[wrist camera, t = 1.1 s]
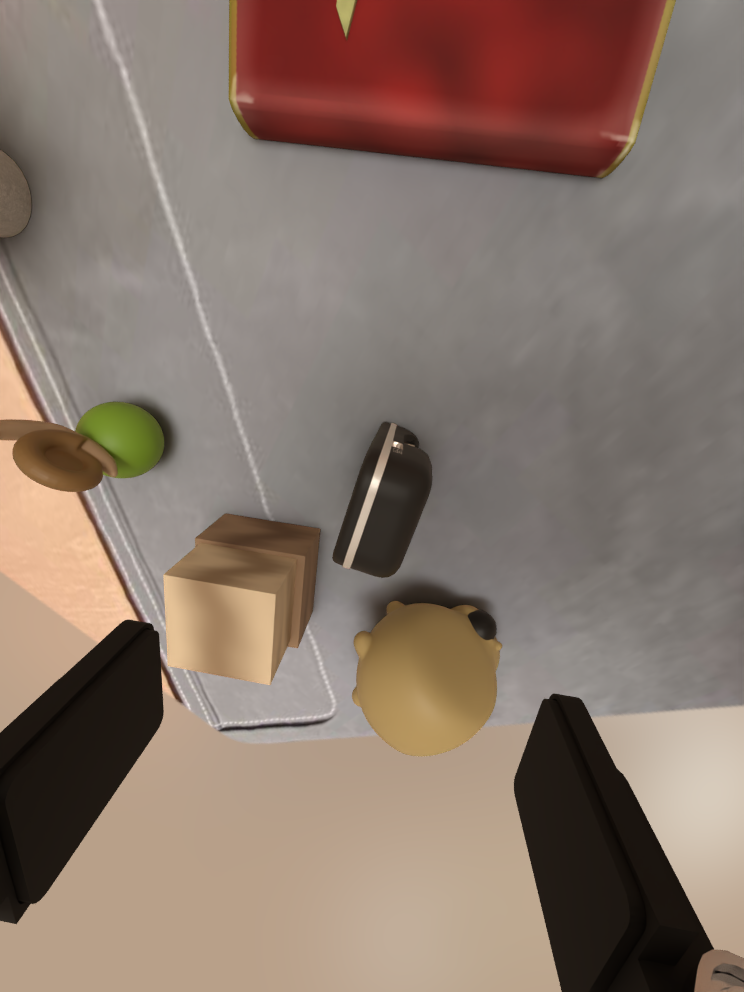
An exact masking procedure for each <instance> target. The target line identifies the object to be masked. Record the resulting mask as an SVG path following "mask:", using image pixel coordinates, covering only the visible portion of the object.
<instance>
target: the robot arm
mask: <svg viewBox="0 0 744 992" xmlns="http://www.w3.org/2000/svg"><path fill="white" fill-rule="evenodd" d="M162 719H163V694H162V677H161V660H160V642H159V633H158V632H157V631H154V627H153V625H152V624H150V623H145V622H139V621H133V620H125V621H123V622H122V623H121V624H119V625H118V626H117V627H116V628H115V629H114V630H113V631H112V632H111V633H110V634H109V635H107V636H106V637H105V638H104V639H103V640H102V641H101V642H100V643H99V644H98V645H97V646H95V647H94V648H93V649H92V650H91V651H90V652H89V653H88V654H87V655H86V656H85V657H83V658H82V659H81V660H80V661H79V662H78V663H77V664H76V665H75V666H74V667H72V668H71V669H70V670H69V671H68V672H67V673H66V674H65V675H64V676H63V677H61V678H60V679H59V680H58V681H57V682H55V683H54V684H53V685H52V686H51V687H50V688H49V689H48V690H47V691H45V692H44V693H43V694H42V695H41V696H40V697H39V698H38V699H37V700H36V701H35V702H33V703H32V704H31V705H30V706H29V707H28V708H27V709H26V710H25V711H24V712H22V713H21V714H20V715H19V716H18V717H17V718H16V719H15V720H14V721H13V722H11V723H10V724H9V725H8V726H7V727H6V728H5V729H4V730H3V731H2V732H1V733H0V921H4V922H9V923H14V924H17V922H18V921H19V920H20V918H21V917H22V915H23V914H24V912H25V911H26V910H27V908H28V907H29V905H30V904H34V903H37V902H38V901H40V900H41V899H42V897H43V896H44V895H45V894H46V893H47V891H48V890H49V889H50V887H51V886H52V884H53V882H54V881H55V880H56V878H57V877H58V875H59V874H60V872H61V871H62V869H63V868H64V867H65V865H66V864H67V862H68V861H69V859H70V858H71V856H72V855H73V853H74V852H75V850H76V849H77V848H78V846H79V845H80V843H81V842H82V840H83V838H84V837H85V835H86V834H87V833H88V831H89V830H90V828H91V827H92V825H93V824H94V822H95V821H96V820H97V818H98V816H99V815H100V814H101V812H102V811H103V809H104V808H105V806H106V805H107V803H108V801H110V799H111V798H112V796H113V795H114V793H115V792H116V790H117V788H118V787H119V785H120V784H121V783H122V781H123V780H124V778H125V777H126V775H127V774H128V773H129V771H130V770H131V768H132V767H133V765H134V764H135V762H136V761H137V759H138V758H139V756H140V755H141V754H142V752H143V751H144V749H145V747H146V746H147V745H148V743H149V742H150V740H151V739H152V737H153V736H154V734H155V733H156V731H157V730H158V728H159V726H160V724H161V721H162ZM514 793H515V798H516V802H517V806H518V811H519V815H520V819H521V823H522V827H523V832H524V836H525V840H526V844H527V848H528V852H529V857H530V861H531V865H532V869H533V873H534V878H535V882H536V886H537V890H538V894H539V898H540V903H541V907H542V911H543V915H544V919H545V923H546V928H547V932H548V936H549V940H550V944H551V949H552V953H553V957H554V961H555V965H556V969H557V974H558V977H559V982H560V986H561V990H562V992H744V958H742V957H740V956H737V955H735V954H733V953H730V952H728V951H725V950H724V951H723V950H714V948H713V946H712V945H711V943H710V940H709V938H708V937H707V935H706V933H705V931H704V929H703V927H702V925H701V923H700V921H699V919H698V917H697V915H696V913H695V911H694V910H693V908H692V906H691V904H690V902H689V900H688V898H687V896H686V894H685V892H684V890H683V888H682V886H681V884H680V882H679V880H678V878H677V876H676V874H675V872H674V871H673V869H672V867H671V865H670V863H669V861H668V859H667V857H666V855H665V853H664V851H663V849H662V847H661V845H660V843H659V841H658V839H657V838H656V835H655V833H654V832H653V830H652V828H651V826H650V824H649V822H648V820H647V818H646V816H645V814H644V812H643V810H642V808H641V806H640V804H639V802H638V800H637V798H636V797H635V795H634V793H633V791H632V789H631V787H630V785H629V783H628V781H627V780H626V778H625V777H624V775H623V774H622V773H621V772H620V771H619V770H618V769H617V768H616V766H615V764H614V763H613V760H612V758H611V756H610V754H609V752H608V750H607V749H606V747H605V745H604V743H603V741H602V739H601V737H600V735H599V733H598V731H597V729H596V727H595V725H594V723H593V721H592V719H591V717H590V715H589V713H588V711H587V709H586V707H585V705H584V703H583V702H582V700H581V699H580V698H577V697H571V696H565V695H560V694H552V695H551V696H550V698H549V699H544V700H543V701H542V703H541V706H540V709H539V711H538V714H537V717H536V720H535V723H534V725H533V728H532V731H531V734H530V736H529V739H528V742H527V745H526V748H525V750H524V753H523V756H522V759H521V762H520V764H519V767H518V770H517V773H516V775H515V779H514Z"/></svg>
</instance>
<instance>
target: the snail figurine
mask: <svg viewBox="0 0 744 992" xmlns="http://www.w3.org/2000/svg"><path fill="white" fill-rule="evenodd" d="M0 440H18V441H17V442H16V443H15V444H14V447H13V459H14V461H15V463H16V465H17V466H18V468H19V469H20V470H21V471H22V472H23V473H24V474H25V475H26V476H28V477H29V478H30V479H32V480H34V481H35V482H37V483H39V484H42V485H44V486H46V487H49V488H52V489H56V490H60V491H67V492H80V491H86V490H89V489H92V488H94V487H96V486H97V485H98V484H99V483H100V482H101V480H102V477H103V475H106V476H109V477H114V478H131V477H136V476H139V475H142V474H144V473H146V472H148V471H149V470H150V469H152V468H153V467H154V466H155V465H156V464H157V463H158V461H159V460H160V458H161V456H162V453H163V450H164V436H163V432H162V429H161V427H160V425H159V424H158V422H157V421H156V420H155V418H154V417H153V416H152V415H150V414H149V413H148V412H147V411H145V410H144V409H142V408H140V407H138V406H136V405H133V404H129V403H124V402H108V403H103V404H100V405H98V406H95V407H93V408H92V409H90V410H89V411H87V412H86V413H85V414H84V415H83V416H82V418H81V419H80V421H79V422H78V424H77V427H76V431H73V430H71V429H69V428H66V427H64V426H61V425H58V424H54V423H48V422H41V421H32V420H0Z"/></svg>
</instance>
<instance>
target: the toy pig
mask: <svg viewBox="0 0 744 992" xmlns="http://www.w3.org/2000/svg"><path fill="white" fill-rule="evenodd" d="M496 630H497V628H496V623H495V621H494V619H493V618H492V616H491V615H490V614H488V613H487V612H485V611H482V610H478V609H477V608H475V607H473V606H470V605H460V606H456V607H454V608H451V609H448V608H446V607H443V606H440V605H435V604H429V603H416V604H410V605H406V606H405V605H404V604H402V603H401V602H399V601H392V602H390V603H389V604H388V606H387V616H385V617H384V618H383V619H382V620H381V621H379V623H378V624H377V625H376V626H375V627H374V628H373V630H372V631H371V633H369V632H367V631H361V632H359V633H357V634H356V636H355V638H354V647H355V649H356V652H357V654H358V656H359V662H358V667H357V677H356V683H357V686H356V687H355V689H354V690H353V693H352V699H353V701H354V703H355V704H356V705H357V706H360V707H361V708H362V711H363V713H364V715H365V717H366V719H367V721H368V722H369V724H370V725H371V727H372V728H373V729H374V731H375V732H376V733H377V734H378V735H379V736H380V737H381V738H382V739H383V740H384V741H385V742H386V743H387V744H389V745H390V746H391V747H393V748H394V749H396V750H397V751H399V752H402V753H404V754H407V755H411V756H431V755H436V754H440V753H444V752H447V751H450V750H452V749H454V748H456V747H458V746H460V745H461V744H463V743H465V742H466V741H468V740H469V739H470V738H472V737H473V736H474V735H475V734H476V733H477V732H478V731H479V730H480V729H481V728H482V726H483V725H484V724H485V723H486V721H487V720H488V718H489V717H490V715H491V713H492V711H493V709H494V706H495V702H496V696H497V680H496V673H495V672H496V669H497V667H498V664H499V658H500V651H499V650H500V649H501V648H502V644H501V643H500V642H498V641H497V639H496V637H495V635H496Z"/></svg>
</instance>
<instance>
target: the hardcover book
mask: <svg viewBox="0 0 744 992" xmlns="http://www.w3.org/2000/svg"><path fill="white" fill-rule="evenodd" d="M675 2H676V0H229V101H230V104H231V107H232V110H233V112H234V114H235V115H236V117H237V119H238V121H239V123H240V124H241V126H242V127H243V129H244V130H245V131H246V132H247V133H248V134H249V135H250V136H251V137H252V138H254V139H263V140H271V141H280V142H289V143H298V144H307V145H316V146H324V147H333V148H342V149H351V150H360V151H369V152H377V153H386V154H395V155H404V156H413V157H422V158H430V159H439V160H448V161H457V162H466V163H475V164H483V165H492V166H501V167H510V168H519V169H528V170H536V171H545V172H554V173H563V174H572V175H581V176H589V177H598V178H604V177H606V176H607V175H609V174H610V173H611V172H612V171H614V170H615V169H616V167H617V166H618V165H619V164H620V163H621V162H622V161H623V160H624V158H625V157H626V156H627V155H628V153H629V152H630V151H631V149H632V147H633V145H634V144H635V141H636V138H637V134H638V131H639V127H640V124H641V120H642V117H643V113H644V110H645V107H646V103H647V100H648V96H649V93H650V89H651V86H652V82H653V79H654V75H655V72H656V68H657V65H658V61H659V58H660V54H661V51H662V47H663V44H664V40H665V37H666V33H667V30H668V26H669V23H670V19H671V16H672V12H673V9H674V5H675Z"/></svg>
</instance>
